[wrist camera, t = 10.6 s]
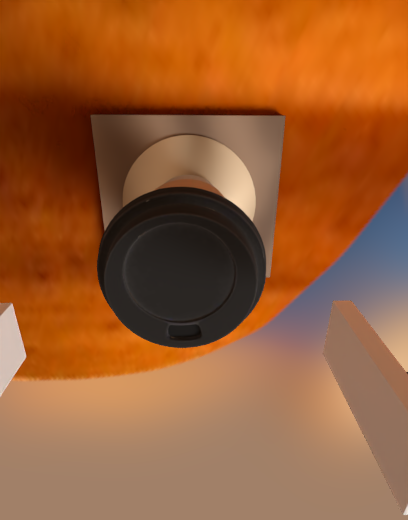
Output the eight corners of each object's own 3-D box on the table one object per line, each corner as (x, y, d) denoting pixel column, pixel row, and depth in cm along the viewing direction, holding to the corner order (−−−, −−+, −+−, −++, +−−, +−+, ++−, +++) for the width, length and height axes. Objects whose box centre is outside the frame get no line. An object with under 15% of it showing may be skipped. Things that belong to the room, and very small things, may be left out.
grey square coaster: (113, 272, 36) (109, 278, 34) (94, 114, 30) (89, 115, 28) (267, 271, 36) (270, 278, 35) (282, 115, 30) (286, 116, 28)
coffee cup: (171, 269, 34) (153, 382, 20) (114, 185, 31) (48, 256, 17) (258, 224, 32) (301, 315, 19) (208, 129, 29) (218, 158, 15)
